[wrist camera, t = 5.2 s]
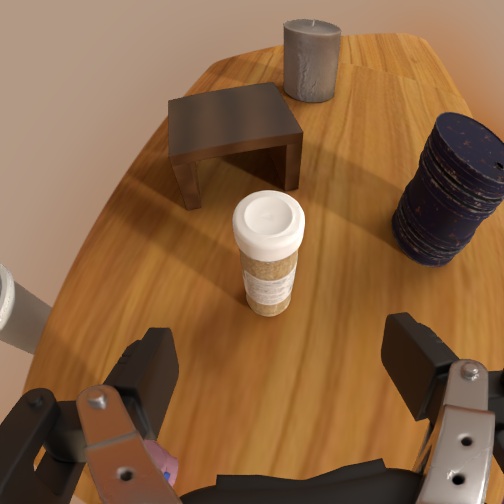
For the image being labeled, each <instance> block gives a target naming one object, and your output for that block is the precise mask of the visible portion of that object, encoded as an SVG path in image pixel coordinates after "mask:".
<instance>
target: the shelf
mask: <svg viewBox="0 0 504 504" xmlns="http://www.w3.org/2000/svg"><path fill="white" fill-rule="evenodd" d="M168 141H169V159H170V162H171V165H172V168H173V171H174V174H175V177H176V180H177V182H178V185H179V188H180V191H181V194H182V197H183V200H184V203H185V205H186V208H187V210H192V209H197V208H201V200H200V193H199V186H198V178H197V170H196V163H195V161H200V160H204V159H209V158H214V157H219V156H224V155H229V154H235V153H240V152H245V151H251V150H257V149H263V148H268V150H269V152H270V155H271V157H272V160H273V162H274V165H275V167H276V170H277V173H278V175H279V178H280V180H281V183H282V185H283V188H284V191H288V190H293V189H298V185H299V175H300V165H301V154H302V142H303V131H302V129H301V127H300V126H299V124H298V122H297V120H296V119H295V117H294V115H293V114H292V112H291V110H290V109H289V107H288V105H287V104H286V102H285V100H284V99H283V97H282V95H281V94H280V92H279V91H278V89H277V87H276V86H275V84H274V83H273V82H272V83H263V84H255V85H248V86H241V87H234V88H228V89H222V90H216V91H211V92H206V93H201V94H196V95H191V96H186V97H182V98H178V99H173V100H169V101H168Z"/></svg>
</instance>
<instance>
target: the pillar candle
mask: <svg viewBox="0 0 504 504" xmlns="http://www.w3.org/2000/svg"><path fill="white" fill-rule="evenodd" d="M283 25H284V91H285V92H286V93H287V94H288V95H290V96H291V97H292V98H294V99H297V100H300V101H305V102H323V101H326V100H329V99H331V98H332V97H333V96H334V89H335V82H336V76H337V69H338V59H339V51H340V40H341V29H340V28H339V27H337V26H335V25H333V24H330V23H327V22H323V21H318V20H306V19H302V20H292V21H287V22H285V23H284V24H283Z"/></svg>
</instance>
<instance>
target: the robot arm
mask: <svg viewBox="0 0 504 504" xmlns="http://www.w3.org/2000/svg"><path fill="white" fill-rule="evenodd" d="M1 290H2V280H1V276H0V296H1ZM381 359H382V363H383V365H384V367H385V369H386V370H387V372H388V374H389V376H390V377H391V379H392V381H393V382H394V384H395V386H396V387H397V389H398V391H399V393H400V394H401V396H402V398H403V400H404V401H405V403H406V405H407V407H408V408H409V410H410V412H411V414H412V416H413V417H414V419H415V421H419V420H423V419H426V418H428V419H429V420H430V422H429V424H428V427H427V429H426V432H425V436H424V439H423V442H422V445H421V448H420V450H419V453H418V456H417V459H416V461H415V464H414V466H413V469H412V471H410V470H405V469H398V468H386V467H385V464H384V462H383V459H382V458H381V459H377V460H372V461H368V462H363V463H358V464H353V465H348V466H343V467H341V468H338V469H336V470H333V471H330V472H327V473H325V474H322V475H319V476H316V477H313V478H310V479H306V480H293V479H284V478H277V477H270V476H263V475H217V479H216V485H214V486H208V487H204V488H200V489H197V490H194V491H191V492H189V493H187V494H185V495H182V496H181V497H178V496H177V494H176V493H175V491H174V490H173V488H172V487H171V485H170V484H169V482H168V481H167V479H166V478H165V476H164V474H163V473H162V471H161V470H160V468H159V466H158V465H157V463H156V461H155V460H154V458H153V456H152V455H151V453H150V451H149V450H148V448H147V446H146V444H145V443H144V439H147V440H155V441H157V438H158V435H159V432H160V429H161V426H162V423H163V420H164V417H165V414H166V411H167V408H168V405H169V402H170V399H171V396H172V394H173V391H174V388H175V385H176V382H177V379H178V375H179V364H178V359H177V354H176V350H175V345H174V340H173V335H172V331H171V329H170V328H149V329H148V331H147V332H146V334H145V335H144V337H143V338H142V340H136V341H135V342H134V343H132V344H131V345H129V346H128V347H127V348H126V350H125V351H124V353H123V354H122V357H120V359H119V360H118V362H117V364H116V365H115V366H114V368H113V369H112V371H111V372H110V374H109V375H108V377H107V378H106V380H105V381H104V383H103V384H102V385H95V386H91V387H89V388H87V389H85V390H83V391H82V392H81V393H80V394H79V395H78V397H77V399H76V401H58V402H57V401H56V399H55V397H54V395H53V393H52V392H51V391H50V390H48V389H45V388H37V389H33V390H30V391H28V392H27V393H25V394H24V395H23V396H22V397H21V398H20V399H19V401H18V402H17V403H16V405H15V406H14V407H13V408H12V410H11V411H10V413H9V414H8V415H7V417H6V418H5V419H4V421H3V422H2V423H1V425H0V504H69V503H70V501H71V498H72V495H73V493H74V490H75V488H76V485H77V483H78V480H79V478H80V475H81V473H82V470H83V468H84V466H85V463H86V462H88V465H89V468H90V471H91V474H92V477H93V480H94V482H95V485H96V488H97V490H98V493H99V495H100V498H101V500H102V503H103V504H487V503H484V501H485V496H486V491H487V486H488V481H489V475H490V468H491V461H492V454H493V455H494V457H495V459H496V461H497V463H498V464H499V466H500V468H501V470H502V472H503V474H504V368H503V370H501V371H489V372H488V371H487V369H486V367H485V366H484V365H483V364H481V363H480V362H478V361H475V360H471V359H459V358H458V357H457V356H456V355H455V354H454V353H453V352H452V350H451V349H450V348H449V347H448V346H447V345H446V344H445V343H444V342H443V343H442V340H441V339H440V338H439V337H437V335H436V334H435V333H434V332H433V331H432V330H431V329H430V328H429V327H427V326H425V325H423V324H421V323H417V322H416V321H415V320H414V319H413V318H412V317H411V315H410V314H409V313H407V312H404V313H397V314H389V315H388V316H387V318H386V322H385V329H384V336H383V342H382V348H381ZM42 445H43V447H44V448H45V449H46V452H45V454H44V456H43V458H42V459H41V461H40V463H39V465H38V467H37V469H36V471H34V466H33V465H34V459H35V457H36V456H37V454H38V452H39V450H40V448H41V447H42Z"/></svg>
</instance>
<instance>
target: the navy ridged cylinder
mask: <svg viewBox="0 0 504 504" xmlns="http://www.w3.org/2000/svg"><path fill="white" fill-rule="evenodd" d="M503 199H504V143H503V142H502V141H501V140H500V139H499V138H498V137H497V136H496V135H495V134H494V133H493V132H492V131H490V130H489V129H488V128H487V127H485V126H484V125H483V124H481V123H479V122H478V121H476V120H474V119H472V118H470V117H468V116H465V115H462V114H459V113H454V112H445V113H441V114H440V115H439V116H438V117H437V119H436V122H435V125H434V128H433V129H432V132H431V134H430V135H429V137H428V139H427V141H426V144H425V146H424V150H423V151H422V152H421V155H420V160H419V168H418V170H417V172H416V174H415V176H414V178H413V179H412V180H411V181H410V182H409V184H408V185H407V186H406V188H405V191H404V193H403V195H402V197H401V199H400V201H399V204H398V207H397V209H396V211H395V213H394V215H393V218H392V232H393V235H394V238H395V240H396V242H397V244H398V245H399V247H400V248H401V249H402V251H403V252H404V253H405V254H406V255H407V256H408V257H410V258H411V259H412V260H414V261H415V262H417V263H419V264H421V265H424V266H428V267H440V266H444V265H446V264H447V263H448V262H450V261H451V260H452V259H453V257H454V256H455V255H456V254H458V253H459V252H460V251H461V250H462V249H463V248H464V247H465V246H466V244H468V243H469V242H470V240H471V239H472V237H473V235H474V233H475V230H476V228H477V227H478V226H479V225H480V223H481V222H482V221H483V220H484V219H486V218H488V217H489V216H490V215H491V214H492V213H493V212H494V211H495V209H496V207H497V206H498V205H500V203H501V202H502V201H503Z"/></svg>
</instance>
